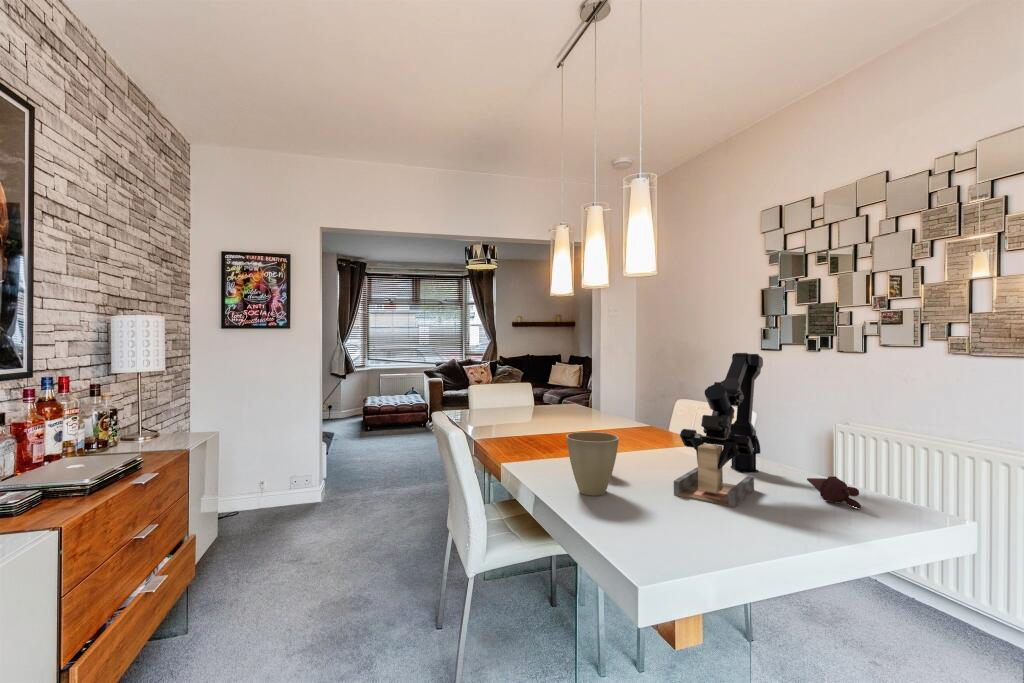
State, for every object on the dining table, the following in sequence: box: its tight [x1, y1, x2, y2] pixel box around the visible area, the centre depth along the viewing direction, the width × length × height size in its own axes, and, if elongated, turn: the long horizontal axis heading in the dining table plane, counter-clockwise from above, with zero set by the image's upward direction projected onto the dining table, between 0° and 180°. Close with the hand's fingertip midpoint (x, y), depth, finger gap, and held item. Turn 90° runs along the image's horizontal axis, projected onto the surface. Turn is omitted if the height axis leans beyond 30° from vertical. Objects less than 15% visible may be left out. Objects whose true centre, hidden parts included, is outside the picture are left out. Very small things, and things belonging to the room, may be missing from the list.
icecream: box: [806, 475, 862, 509], centre depth 126 cm, size 7×7×15 cm
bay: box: [673, 466, 755, 509], centre depth 134 cm, size 19×16×4 cm
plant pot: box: [565, 431, 620, 496], centre depth 135 cm, size 15×15×16 cm
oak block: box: [697, 443, 724, 493], centre depth 131 cm, size 5×5×12 cm
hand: (708, 466), depth 130 cm, fingers closed on oak block, 5 cm apart
